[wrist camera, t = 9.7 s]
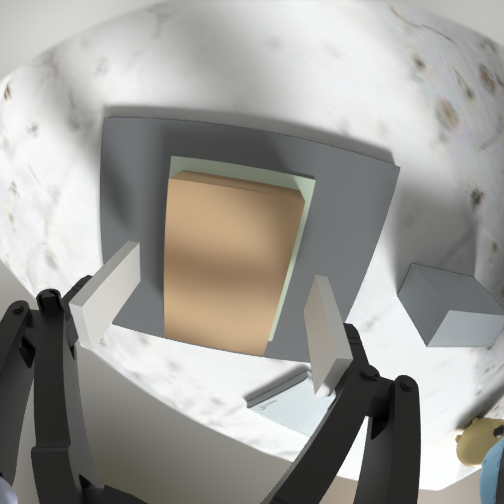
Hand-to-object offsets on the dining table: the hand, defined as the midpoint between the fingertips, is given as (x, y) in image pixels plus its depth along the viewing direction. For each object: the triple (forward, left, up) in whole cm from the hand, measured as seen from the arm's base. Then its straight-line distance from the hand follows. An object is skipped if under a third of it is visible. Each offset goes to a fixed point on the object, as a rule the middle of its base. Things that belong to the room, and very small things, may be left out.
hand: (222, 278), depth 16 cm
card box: (0, 0, -2) cm, 2 cm away
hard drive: (-11, +17, -4) cm, 21 cm away
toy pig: (-51, +27, -3) cm, 58 cm away
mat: (0, 0, -3) cm, 3 cm away
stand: (-17, -1, -3) cm, 18 cm away
